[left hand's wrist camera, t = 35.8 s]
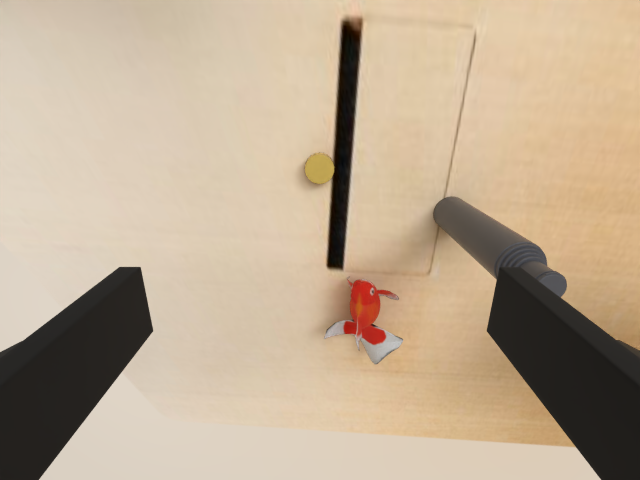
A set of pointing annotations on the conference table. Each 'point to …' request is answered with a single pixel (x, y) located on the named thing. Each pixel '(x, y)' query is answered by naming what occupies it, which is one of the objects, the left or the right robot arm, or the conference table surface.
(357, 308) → the fish
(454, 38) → the conference table surface
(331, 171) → the cap
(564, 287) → the bottle
